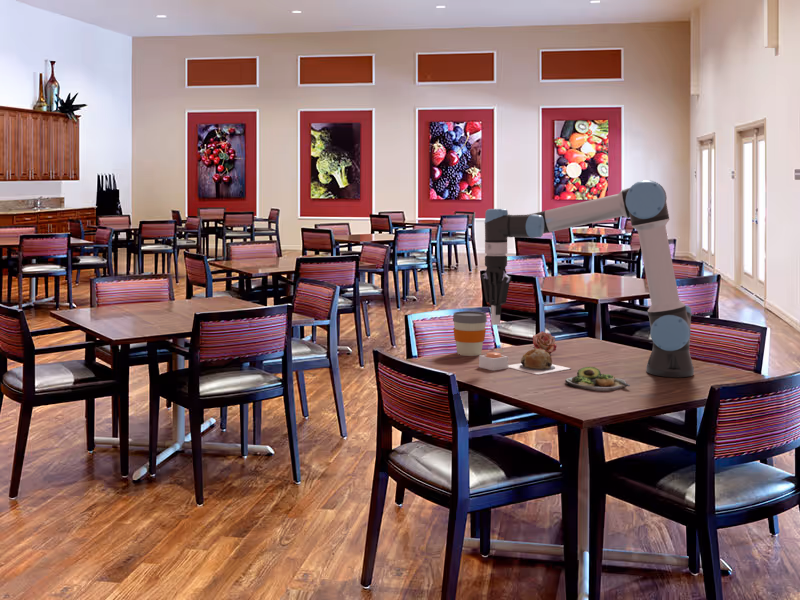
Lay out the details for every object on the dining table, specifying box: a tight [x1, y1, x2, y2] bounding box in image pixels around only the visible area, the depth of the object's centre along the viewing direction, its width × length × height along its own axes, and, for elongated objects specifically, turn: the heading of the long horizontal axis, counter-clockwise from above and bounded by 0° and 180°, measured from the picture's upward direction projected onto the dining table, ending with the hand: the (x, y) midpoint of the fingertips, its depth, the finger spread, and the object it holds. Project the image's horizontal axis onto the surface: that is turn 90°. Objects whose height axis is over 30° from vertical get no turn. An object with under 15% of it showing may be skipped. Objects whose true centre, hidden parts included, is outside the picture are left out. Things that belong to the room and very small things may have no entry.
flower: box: [529, 331, 557, 356], centre depth 319 cm, size 10×9×8 cm
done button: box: [485, 351, 502, 358], centre depth 294 cm, size 5×5×3 cm
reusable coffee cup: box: [452, 310, 488, 357], centre depth 319 cm, size 13×13×15 cm
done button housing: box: [478, 354, 509, 371], centre depth 294 cm, size 7×7×4 cm
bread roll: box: [520, 348, 553, 370], centre depth 294 cm, size 10×10×8 cm
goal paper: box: [507, 362, 572, 376], centre depth 294 cm, size 16×16×1 cm
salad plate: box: [564, 366, 631, 392], centre depth 269 cm, size 19×18×5 cm
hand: (495, 324), depth 292 cm, fingers closed
